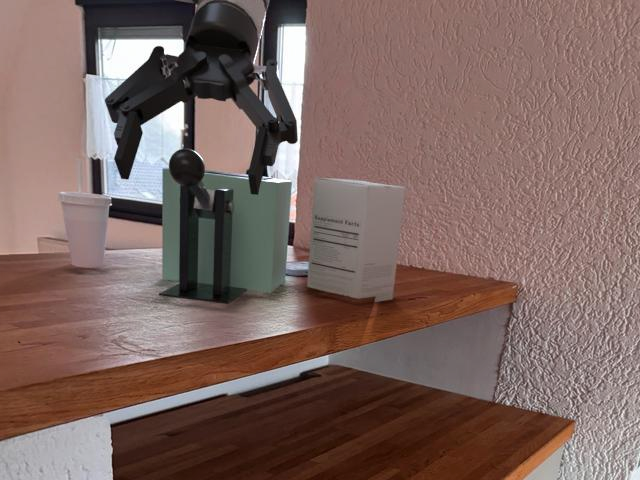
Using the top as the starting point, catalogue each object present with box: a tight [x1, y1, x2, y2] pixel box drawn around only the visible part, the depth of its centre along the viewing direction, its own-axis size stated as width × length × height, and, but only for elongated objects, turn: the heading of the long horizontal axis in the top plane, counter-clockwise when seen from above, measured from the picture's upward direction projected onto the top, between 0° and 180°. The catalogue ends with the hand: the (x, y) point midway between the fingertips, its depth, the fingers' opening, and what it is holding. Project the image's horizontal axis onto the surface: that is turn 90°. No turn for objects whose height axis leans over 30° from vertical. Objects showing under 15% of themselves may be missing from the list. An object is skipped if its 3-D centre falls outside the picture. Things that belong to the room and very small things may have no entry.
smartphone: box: [286, 260, 309, 276], centre depth 118 cm, size 7×1×15 cm
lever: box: [168, 148, 216, 219], centre depth 79 cm, size 12×4×4 cm, turn 176°
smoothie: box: [57, 156, 113, 269], centre depth 93 cm, size 6×6×14 cm
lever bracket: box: [158, 185, 248, 305], centre depth 85 cm, size 10×8×13 cm
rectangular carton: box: [306, 177, 406, 303], centre depth 98 cm, size 9×9×15 cm
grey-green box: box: [161, 167, 293, 294], centre depth 95 cm, size 11×14×14 cm
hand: (186, 177), depth 74 cm, fingers open, 13 cm apart
